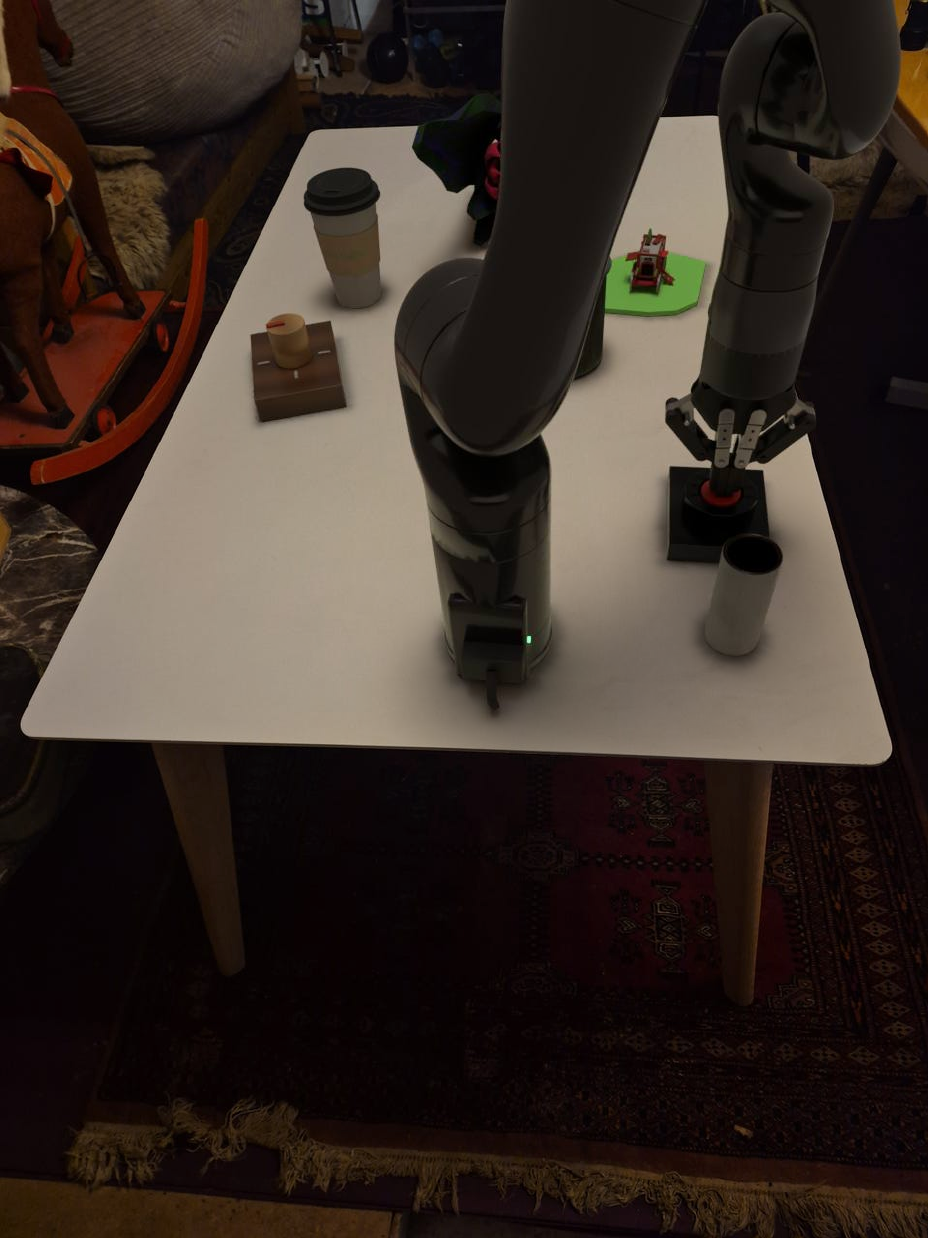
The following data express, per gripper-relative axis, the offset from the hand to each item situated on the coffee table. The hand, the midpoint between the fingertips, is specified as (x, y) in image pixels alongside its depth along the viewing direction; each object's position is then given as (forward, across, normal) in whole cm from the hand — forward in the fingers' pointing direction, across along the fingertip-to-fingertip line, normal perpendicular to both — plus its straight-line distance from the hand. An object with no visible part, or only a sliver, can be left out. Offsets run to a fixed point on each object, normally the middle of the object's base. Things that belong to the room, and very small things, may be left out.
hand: (723, 491), depth 80 cm
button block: (+4, 0, 0) cm, 4 cm away
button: (+2, 0, 0) cm, 2 cm away
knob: (+1, -48, +21) cm, 53 cm away
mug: (+4, -19, +27) cm, 33 cm away
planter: (+4, +1, -14) cm, 15 cm away
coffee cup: (+4, -45, +40) cm, 61 cm away
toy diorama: (+4, -8, +44) cm, 45 cm away
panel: (+4, -48, +21) cm, 53 cm away
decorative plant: (+4, -25, +57) cm, 63 cm away
